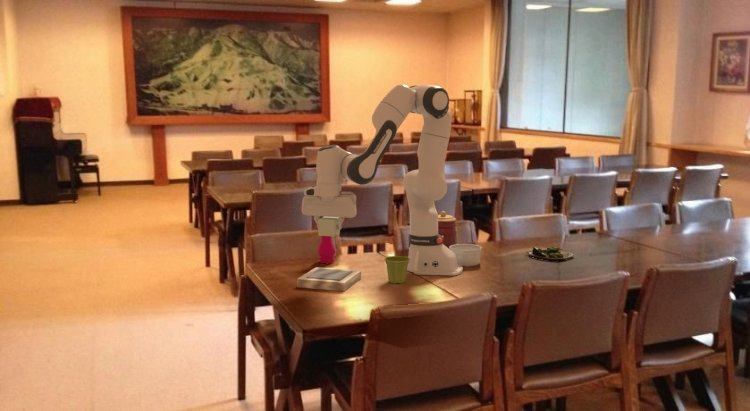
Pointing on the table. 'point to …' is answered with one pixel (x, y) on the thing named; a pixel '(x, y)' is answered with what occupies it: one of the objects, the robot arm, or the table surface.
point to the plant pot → (397, 268)
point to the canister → (447, 229)
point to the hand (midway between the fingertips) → (329, 228)
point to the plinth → (329, 279)
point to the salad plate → (549, 254)
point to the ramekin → (467, 254)
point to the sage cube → (328, 226)
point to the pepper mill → (326, 250)
